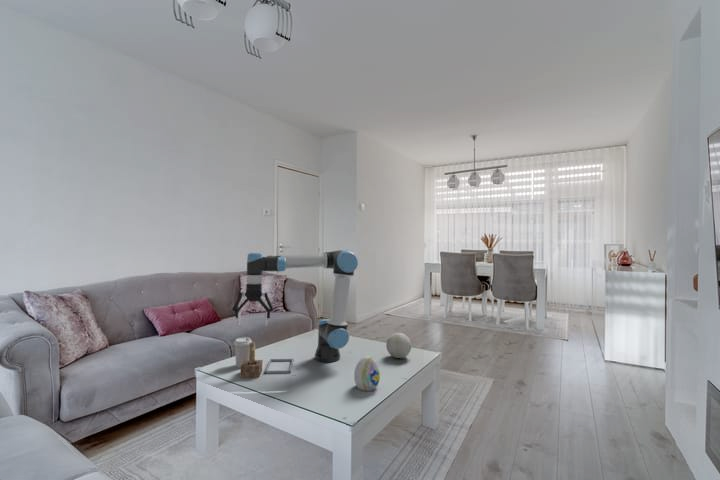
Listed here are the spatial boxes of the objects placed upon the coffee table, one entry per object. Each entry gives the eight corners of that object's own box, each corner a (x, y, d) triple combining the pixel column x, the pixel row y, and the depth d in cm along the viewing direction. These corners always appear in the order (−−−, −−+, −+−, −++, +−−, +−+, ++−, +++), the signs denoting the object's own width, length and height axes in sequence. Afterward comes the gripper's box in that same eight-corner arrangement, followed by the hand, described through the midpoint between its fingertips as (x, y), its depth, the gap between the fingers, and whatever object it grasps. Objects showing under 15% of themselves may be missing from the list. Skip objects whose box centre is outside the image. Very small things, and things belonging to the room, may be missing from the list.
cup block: (262, 372, 180) (262, 359, 181) (259, 379, 172) (259, 366, 172) (244, 372, 179) (244, 360, 180) (240, 379, 171) (240, 366, 171)
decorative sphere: (385, 361, 203) (386, 335, 203) (386, 353, 218) (387, 329, 218) (411, 362, 201) (411, 337, 201) (410, 354, 216) (411, 330, 216)
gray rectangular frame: (293, 362, 197) (293, 358, 197) (290, 374, 178) (290, 370, 178) (270, 362, 196) (270, 358, 196) (264, 375, 177) (264, 371, 177)
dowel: (254, 373, 177) (255, 342, 177) (253, 375, 174) (254, 343, 174) (249, 373, 177) (250, 342, 177) (248, 375, 174) (249, 343, 174)
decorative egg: (368, 395, 156) (369, 362, 156) (348, 387, 164) (349, 356, 164) (384, 387, 166) (385, 356, 166) (365, 380, 174) (365, 350, 174)
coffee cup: (245, 371, 182) (246, 342, 182) (229, 369, 184) (230, 341, 184) (254, 365, 191) (255, 337, 191) (239, 363, 193) (240, 336, 193)
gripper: (279, 282, 181) (278, 323, 181) (230, 281, 178) (229, 322, 178) (278, 284, 174) (276, 326, 173) (226, 283, 171) (225, 326, 171)
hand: (252, 324), depth 176 cm, fingers open, 13 cm apart
